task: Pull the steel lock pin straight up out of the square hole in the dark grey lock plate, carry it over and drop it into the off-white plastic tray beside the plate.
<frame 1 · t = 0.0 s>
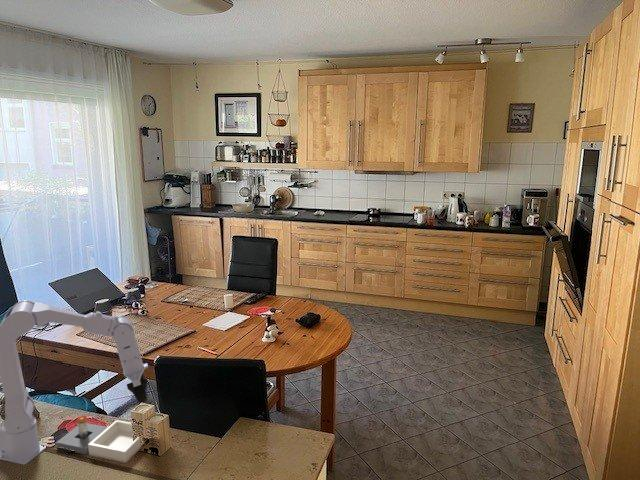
hand: (141, 395, 143), 10 cm above the counter, tool pointing down, fingers open, 7 cm apart
lock pin: (83, 429, 137), in the lock plate
lock plate: (84, 440, 137), on the counter
tray: (121, 445, 135), on the counter
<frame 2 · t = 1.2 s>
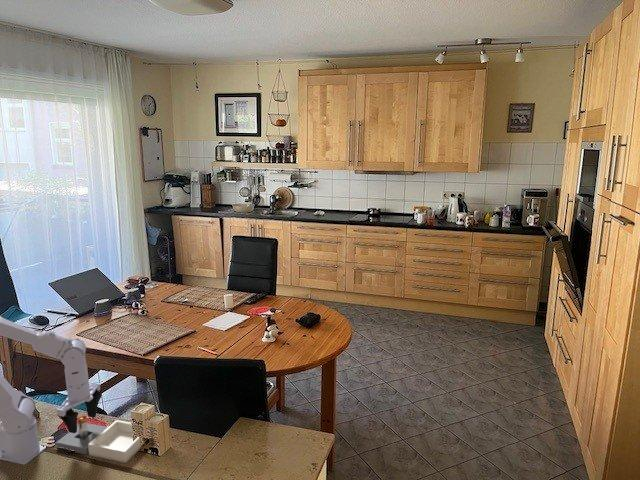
hand: (82, 424, 136), 5 cm above the counter, tool pointing down, fingers open, 7 cm apart
nothing on the counter moved.
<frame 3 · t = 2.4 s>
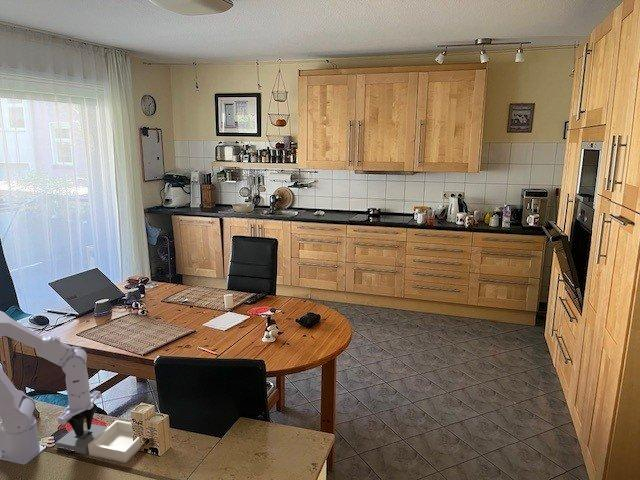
hand: (83, 432, 137), 3 cm above the counter, tool pointing down, fingers closed on lock pin, 2 cm apart
lock pin: (83, 429, 137), in the lock plate, touching gripper
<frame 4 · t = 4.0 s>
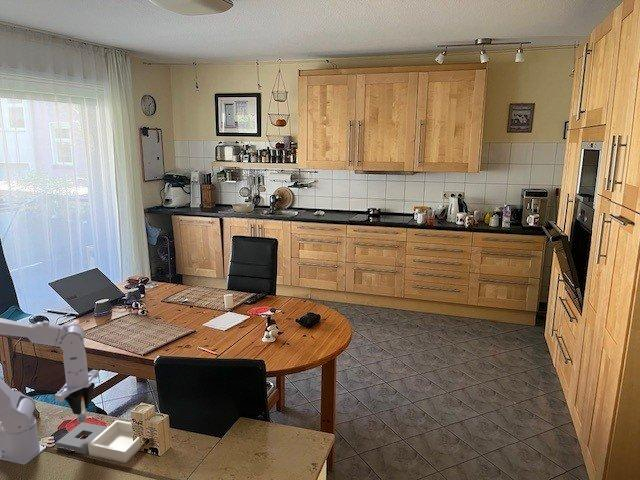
hand: (81, 410, 135), 10 cm above the counter, tool pointing down, fingers closed on lock pin, 2 cm apart
lock pin: (80, 408, 135), point 11 cm above the counter, touching gripper
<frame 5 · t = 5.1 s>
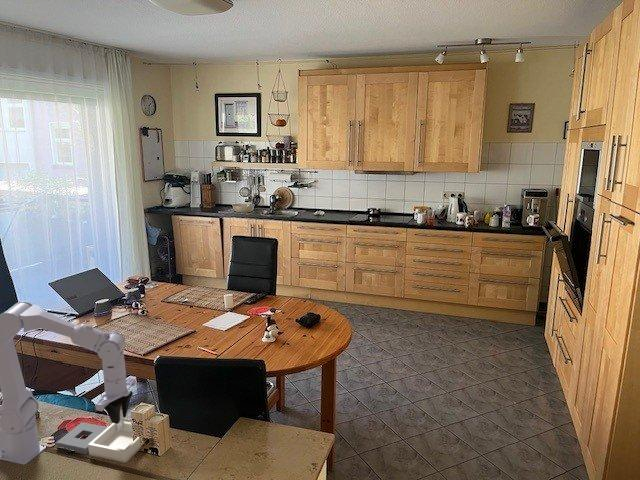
hand: (119, 419, 134), 9 cm above the counter, tool pointing down, fingers closed on lock pin, 2 cm apart
lock pin: (118, 416, 133), point 9 cm above the counter, touching gripper
when the fingers open (5 cm above the counter, at t = 5.8 s): lock pin drops 2 cm, resting on tray.
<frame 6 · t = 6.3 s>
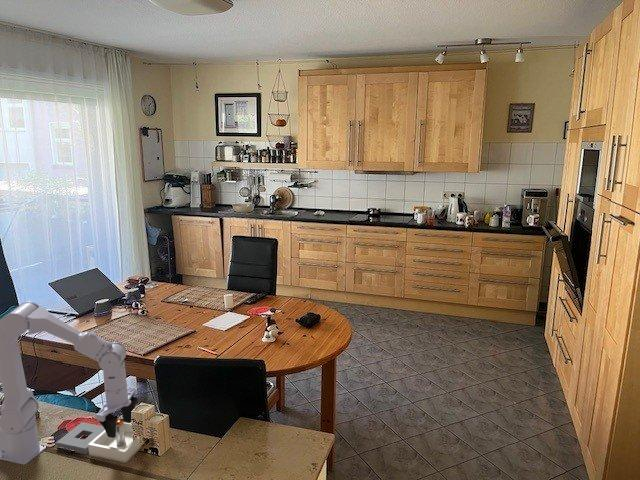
hand: (119, 429, 134), 5 cm above the counter, tool pointing down, fingers open, 6 cm apart
lock pin: (120, 432, 134), in the tray, point 4 cm above the counter
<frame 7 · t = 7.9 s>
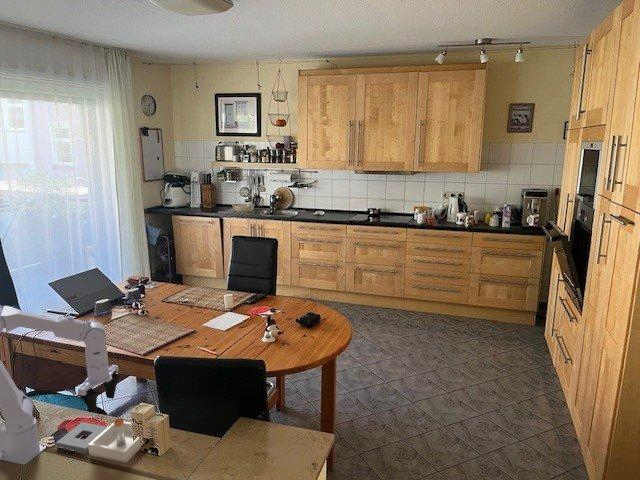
hand: (101, 404, 139), 9 cm above the counter, tool pointing down, fingers open, 7 cm apart
nothing on the counter moved.
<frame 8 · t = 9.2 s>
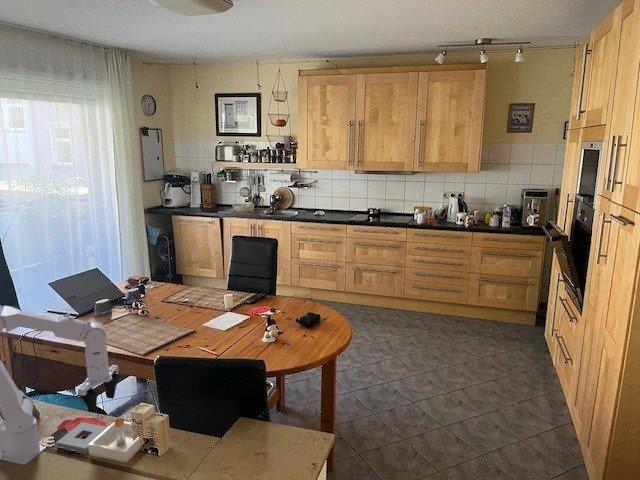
hand: (101, 404, 139), 9 cm above the counter, tool pointing down, fingers open, 7 cm apart
nothing on the counter moved.
at the end: lock pin inside the target area on the tray (0.0 cm from its centre), point 4.4 cm above the tray's base; the gripper is holding nothing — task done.
